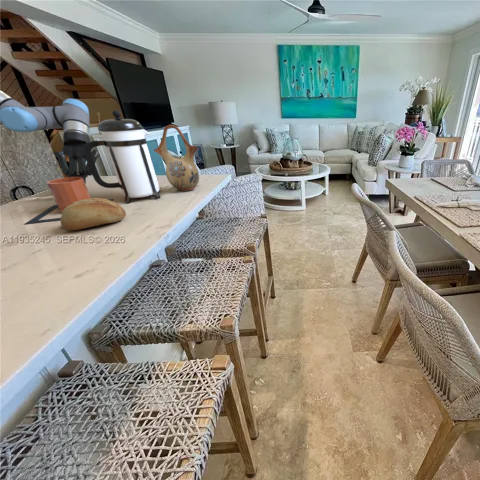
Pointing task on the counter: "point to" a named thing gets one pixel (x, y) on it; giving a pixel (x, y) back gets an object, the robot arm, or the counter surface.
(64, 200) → the terracotta flower pot
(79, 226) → the bread roll
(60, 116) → the robot arm
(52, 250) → the counter surface
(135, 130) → the coffee press
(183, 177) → the ceramic vessel
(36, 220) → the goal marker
